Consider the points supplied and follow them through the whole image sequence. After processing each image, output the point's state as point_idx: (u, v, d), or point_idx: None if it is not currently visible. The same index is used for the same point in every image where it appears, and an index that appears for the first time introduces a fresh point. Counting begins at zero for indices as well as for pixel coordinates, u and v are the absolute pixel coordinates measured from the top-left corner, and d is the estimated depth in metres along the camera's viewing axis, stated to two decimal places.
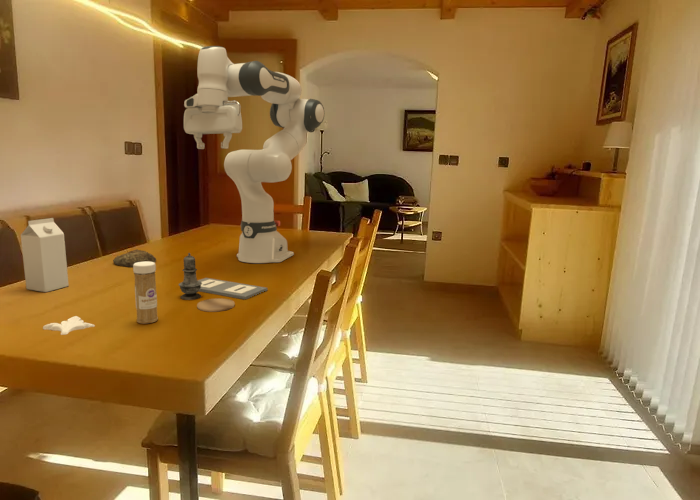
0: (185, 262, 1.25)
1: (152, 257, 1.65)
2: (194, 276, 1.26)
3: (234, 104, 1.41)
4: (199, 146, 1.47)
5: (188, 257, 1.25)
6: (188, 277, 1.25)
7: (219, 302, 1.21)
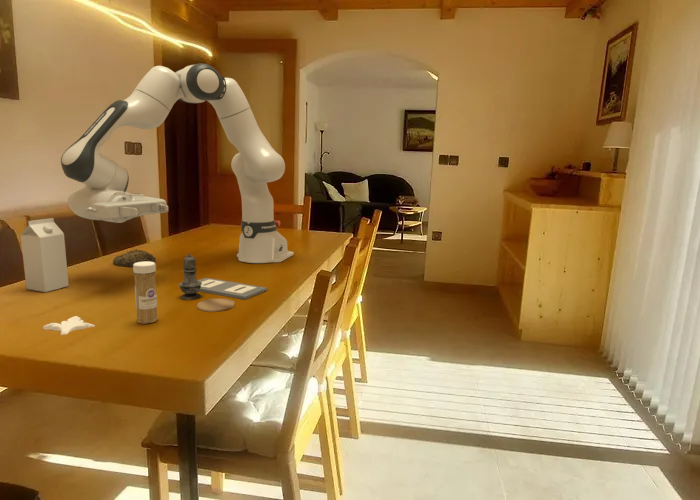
0: (185, 262, 1.25)
1: (152, 257, 1.65)
2: (194, 276, 1.26)
3: None
4: (164, 212, 1.33)
5: (188, 257, 1.25)
6: (188, 277, 1.25)
7: (219, 302, 1.21)
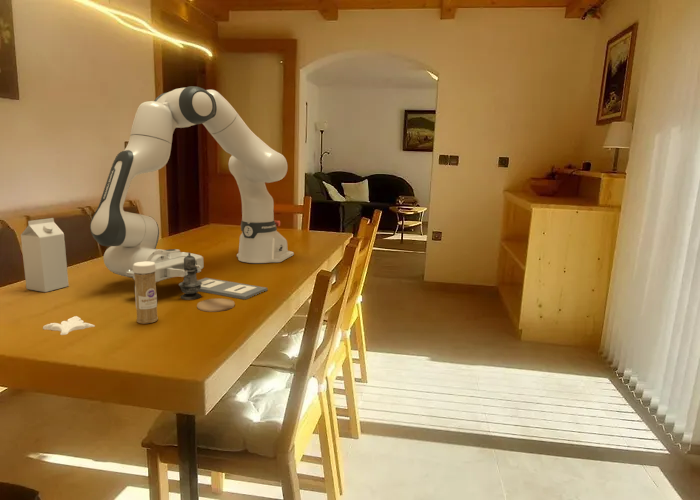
0: (185, 262, 1.25)
1: None
2: (194, 276, 1.26)
3: None
4: None
5: (188, 257, 1.25)
6: (188, 277, 1.25)
7: (219, 302, 1.21)
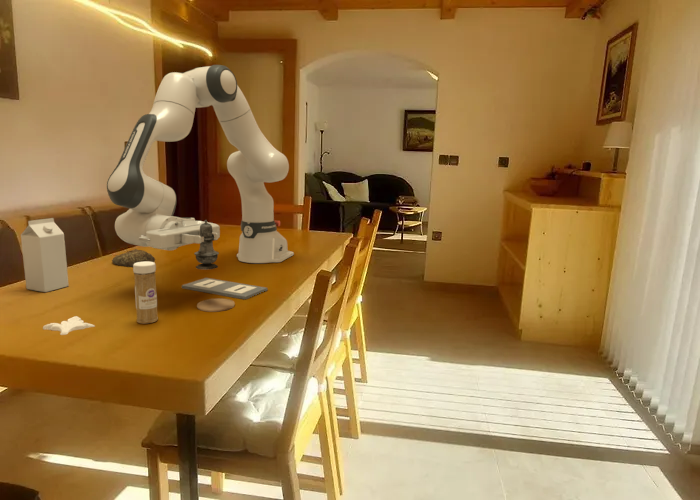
0: (201, 229, 1.17)
1: (151, 257, 1.65)
2: (211, 245, 1.18)
3: None
4: (213, 240, 1.21)
5: (205, 224, 1.17)
6: (204, 246, 1.18)
7: (219, 302, 1.21)
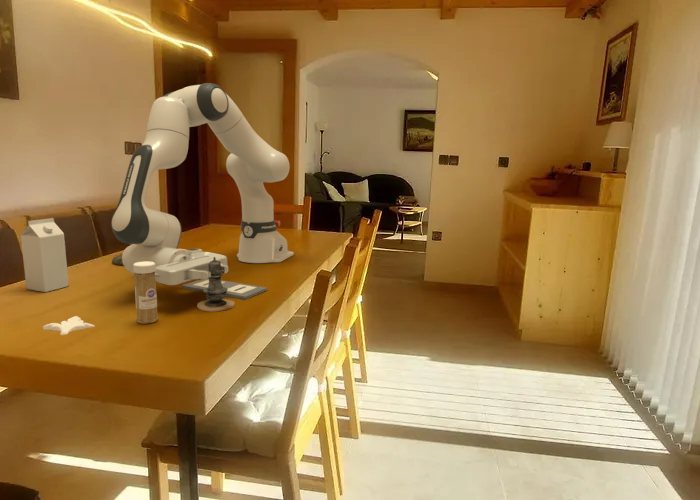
0: (210, 267, 1.17)
1: None
2: (219, 282, 1.19)
3: None
4: None
5: (213, 262, 1.17)
6: (213, 283, 1.18)
7: None
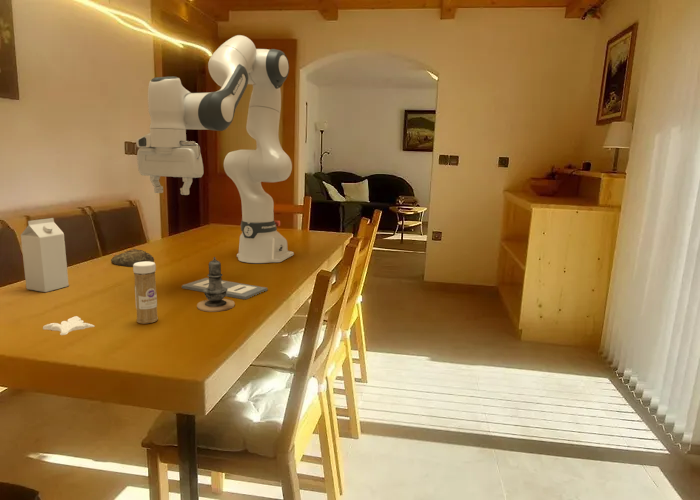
0: (210, 267, 1.17)
1: (150, 256, 1.66)
2: (219, 282, 1.19)
3: (192, 146, 1.22)
4: (157, 190, 1.30)
5: (213, 262, 1.17)
6: (213, 283, 1.18)
7: None
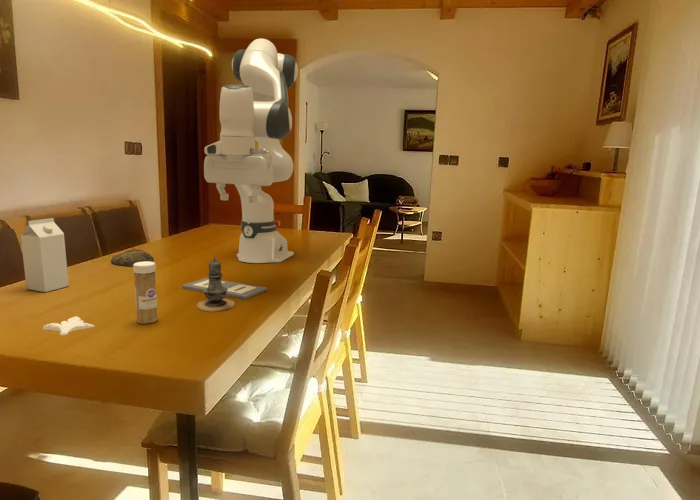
0: (210, 267, 1.17)
1: (150, 256, 1.66)
2: (219, 282, 1.19)
3: (264, 154, 1.22)
4: (223, 198, 1.29)
5: (213, 262, 1.17)
6: (213, 283, 1.18)
7: None
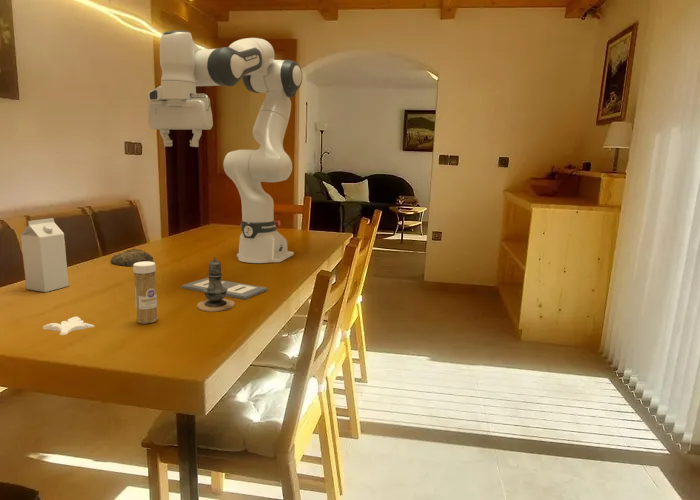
0: (210, 267, 1.17)
1: (149, 256, 1.66)
2: (219, 282, 1.19)
3: (202, 98, 1.26)
4: (166, 144, 1.33)
5: (213, 262, 1.17)
6: (213, 283, 1.18)
7: None
